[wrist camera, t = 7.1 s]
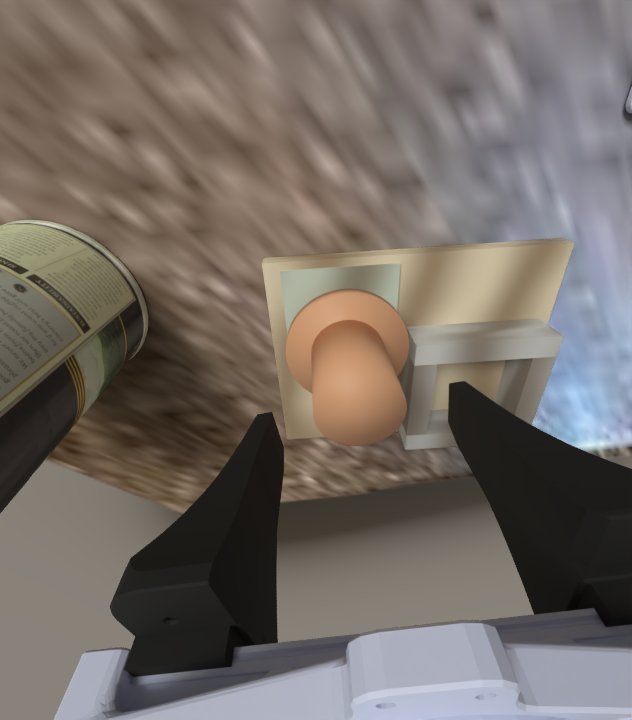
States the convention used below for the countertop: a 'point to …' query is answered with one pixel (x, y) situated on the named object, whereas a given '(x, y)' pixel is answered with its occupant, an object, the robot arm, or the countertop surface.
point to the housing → (437, 324)
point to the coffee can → (57, 338)
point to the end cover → (350, 364)
